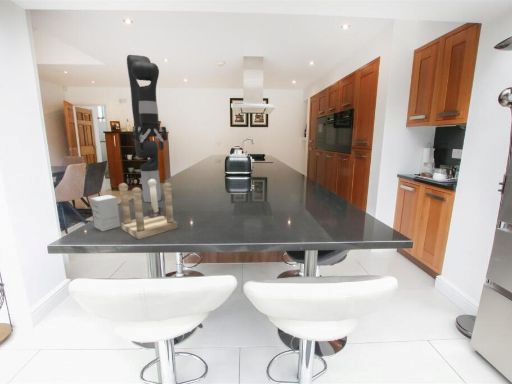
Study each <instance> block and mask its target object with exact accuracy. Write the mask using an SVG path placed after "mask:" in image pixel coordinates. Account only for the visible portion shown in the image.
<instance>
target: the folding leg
mask: <svg viewBox="0 0 512 384" xmlns="http://www.w3.org/2000/svg"><path fill="white" fill-rule="evenodd" d="M156 184H157V182H156V180H155V179H150V180H149V181H148V185H149V187H150V196H151V202H150V203H151V209H153V213H158V211H159V209H158V206H159V201H158V200H157V191H156Z"/></svg>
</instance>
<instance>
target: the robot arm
mask: <svg viewBox="0 0 512 384" xmlns="http://www.w3.org/2000/svg"><path fill="white" fill-rule="evenodd" d="M126 66H127V67H126V68H127V72H128V73H127V75H128V78H129V87H130V95H131V96H130V98H131V108H132V111H131V112H132V116H133V117H132V118H133V124H134V125H133V127H132V140H133V141H134V148H135V153H136V156H137V157H136V158H138V159H149V160H148V161H147V162H145V163H143V164H141V165H140V168H139V169H140V176H141V185H142V186H141V187H142V198H143V202H145V203H151V196H150V187H149V185H148V181H149V180H150V179H155V180H156V182H157V184H156V191H157V200H158V202H160V201H161V200H162V197H161V196H162V194H161V184H160V183H161V182H160V173H159V151H163V149H164V148H165V147H164V142H165V141H168V135H167V134H168V133H167V128H166V126H161V127H160V125H159V123H160V121H159V109H158V104H157V103H158V102H157V84H158V80H159V75H160V70H159V69H160V68H159V66H158V65H157V64H156V63H154V62H151V60H150V58H149V57H148V56H144V55H138V54H136V55H135V54H128V55H127V56H126ZM138 81H145V82H146V81H149V82H150V83H149V84H148V85H144V86H140V84H139V82H138ZM159 132H160V133H161V134H160V133H159ZM151 137H152V138H156V139H157V141H158V142H156V141H155V140H145V139H146V138H151Z"/></svg>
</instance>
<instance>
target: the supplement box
mask: <svg viewBox="0 0 512 384" xmlns="http://www.w3.org/2000/svg"><path fill="white" fill-rule="evenodd" d="M90 204H91V210H92V216H93V217H92V218H93V225H94V228H95V229H97V230H99V231H101V232H106V231H109V230H111V229H112V230H113V229H117V228H121V224H120V223H121V221H120V212H119V211H120V210H119V204H118V198H117V196H114V195H110V194H105V195H101V196H99V195H98V196H95V197H91V198H90Z"/></svg>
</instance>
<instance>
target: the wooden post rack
mask: <svg viewBox="0 0 512 384" xmlns="http://www.w3.org/2000/svg"><path fill="white" fill-rule="evenodd" d="M162 188H163V191H164V203H165V214H166V215H165V216H164V207H162V206H159V205H158V209H159V211H158V212H157V213H156V214H154V212H153V209H152V208H147V216H144V211H143V209H144V208H143V201H142V195H143V189H141V188H140V187H138V186H137V187H134V188H132V190H131V194H132V196H133V205H134V206H133V207H134V215H135V217H134V218H135V219H132V218H131V211H130V202H129V201H130V199H129V192H128V189H129V184H127V183H125V182H122V183H119V184H118V191H119V193H120V194H119V195H120V199H121V201H120V203H121V210H122V219H123V222H122V221H121V222H120V229H121V230H122V231H124V232H126V233H128V234H129V235H131V236H132V237H134V238H136V239H138V240H141V239H145V238H149V237H152V236H154V235H158V234H162V233H165V232H169V231H173V230H176V229H178V227H179V226H178V221H176V220H174V208H173V195H172V189H173V184H172V183H171V182H165V183H164V184H163V185H162Z"/></svg>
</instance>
